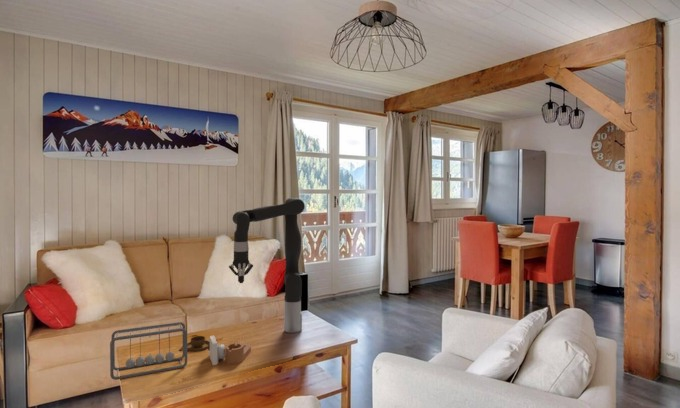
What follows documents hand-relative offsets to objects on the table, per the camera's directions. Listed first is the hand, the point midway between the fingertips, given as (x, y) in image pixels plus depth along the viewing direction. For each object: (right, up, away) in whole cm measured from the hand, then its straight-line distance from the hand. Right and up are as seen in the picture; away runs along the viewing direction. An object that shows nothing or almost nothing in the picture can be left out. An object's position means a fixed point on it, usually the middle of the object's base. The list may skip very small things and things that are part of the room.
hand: (241, 282), depth 208 cm
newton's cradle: (-32, -32, -32) cm, 56 cm away
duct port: (-5, -32, -22) cm, 39 cm away
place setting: (-19, -32, -11) cm, 39 cm away
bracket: (+3, -32, -17) cm, 37 cm away
